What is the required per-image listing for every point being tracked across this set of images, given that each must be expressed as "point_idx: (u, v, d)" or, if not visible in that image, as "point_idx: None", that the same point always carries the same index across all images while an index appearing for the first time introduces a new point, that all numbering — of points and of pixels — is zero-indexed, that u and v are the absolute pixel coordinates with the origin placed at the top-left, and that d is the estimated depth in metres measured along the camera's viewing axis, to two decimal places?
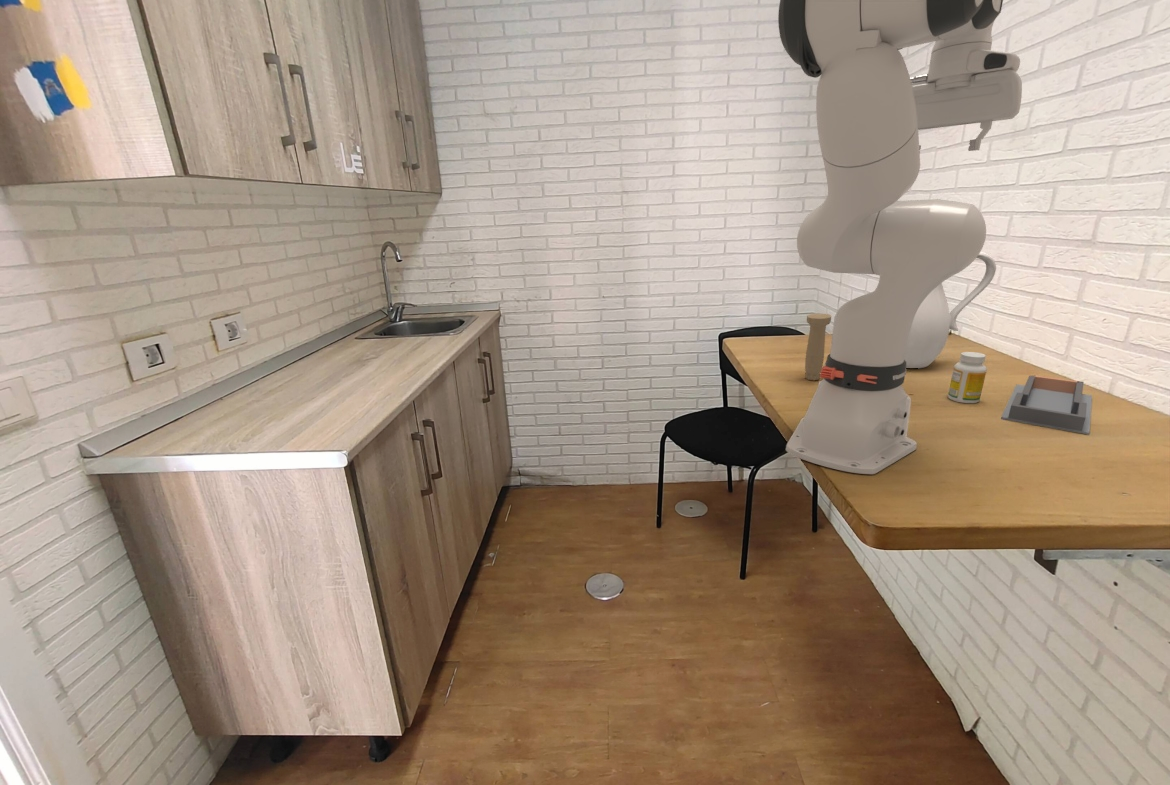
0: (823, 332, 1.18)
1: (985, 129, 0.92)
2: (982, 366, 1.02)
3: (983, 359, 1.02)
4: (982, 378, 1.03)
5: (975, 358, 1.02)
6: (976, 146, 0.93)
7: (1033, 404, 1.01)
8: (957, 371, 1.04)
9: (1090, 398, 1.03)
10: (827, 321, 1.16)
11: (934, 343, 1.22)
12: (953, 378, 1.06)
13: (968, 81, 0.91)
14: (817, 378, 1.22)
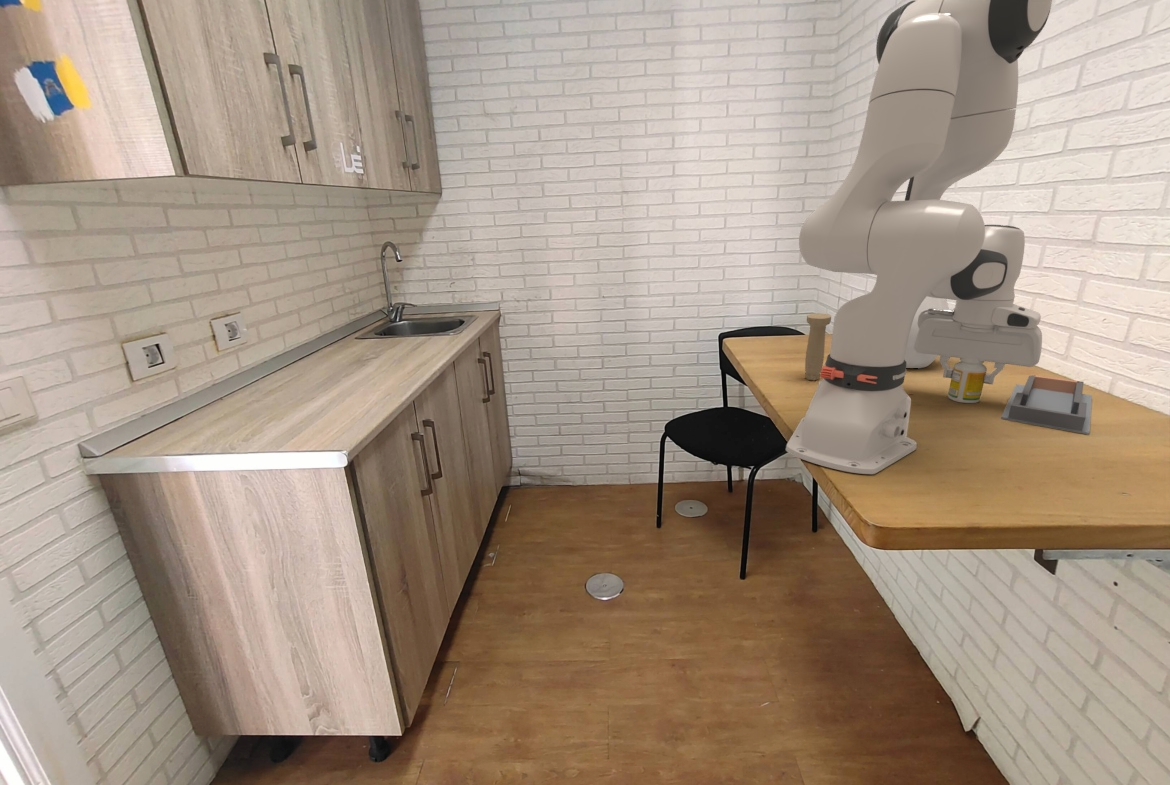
0: (823, 332, 1.18)
1: (999, 370, 1.00)
2: (982, 366, 1.02)
3: None
4: (982, 378, 1.03)
5: (975, 358, 1.02)
6: (990, 382, 1.02)
7: (1033, 404, 1.01)
8: (957, 371, 1.04)
9: (1090, 398, 1.03)
10: (827, 321, 1.16)
11: None
12: (953, 378, 1.05)
13: (992, 329, 0.99)
14: (817, 378, 1.22)
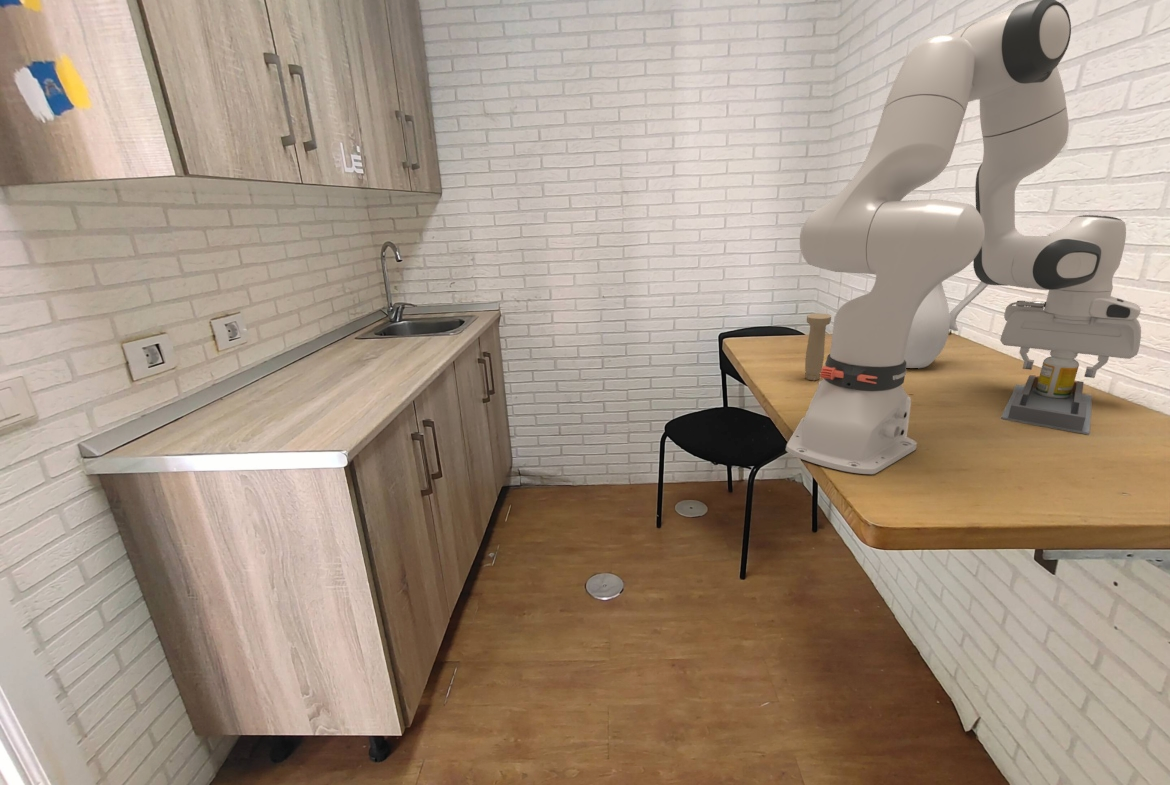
0: (823, 332, 1.18)
1: (1103, 363, 0.99)
2: (1075, 361, 1.02)
3: (1076, 354, 1.01)
4: (1075, 373, 1.02)
5: (1068, 353, 1.01)
6: (1093, 375, 1.00)
7: (1033, 404, 1.01)
8: (1048, 366, 1.04)
9: (1090, 398, 1.03)
10: (827, 321, 1.16)
11: (934, 343, 1.22)
12: (1043, 373, 1.05)
13: (1088, 320, 0.98)
14: (817, 378, 1.22)
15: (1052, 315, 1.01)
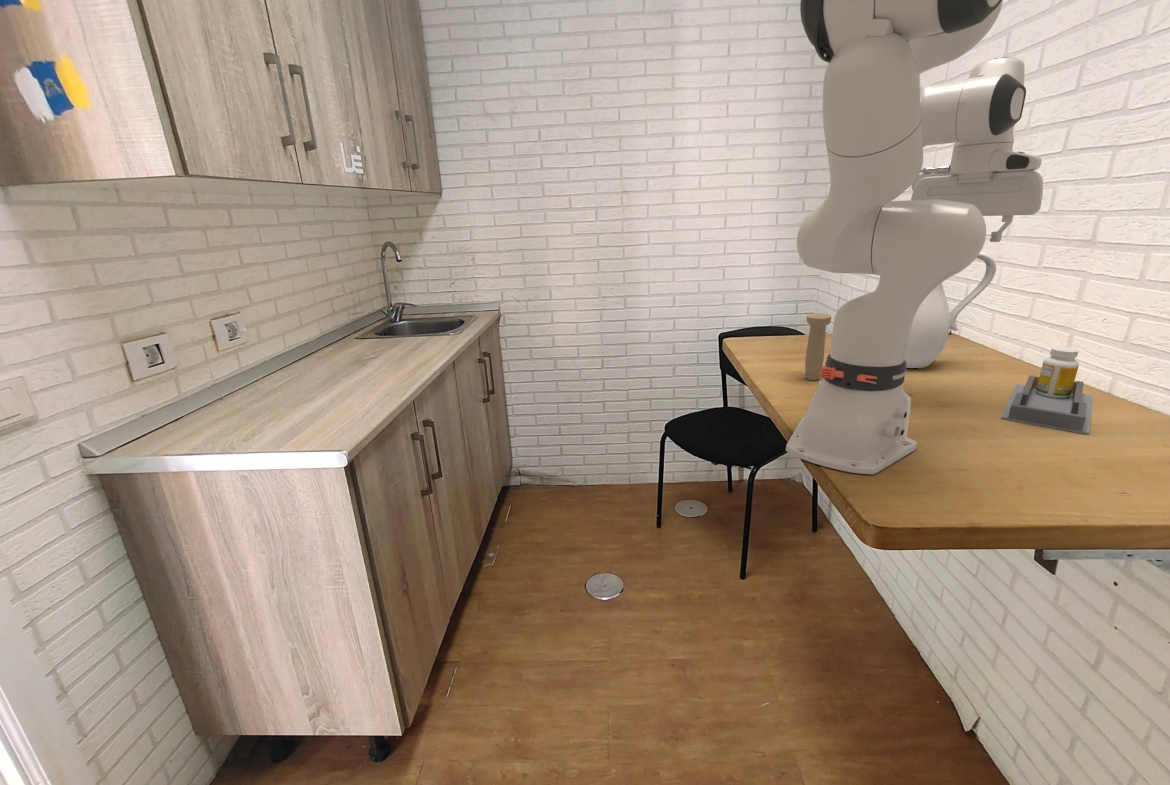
0: (823, 332, 1.18)
1: (1007, 223, 0.94)
2: (1075, 361, 1.02)
3: (1076, 354, 1.01)
4: (1075, 373, 1.02)
5: (1068, 353, 1.01)
6: (997, 238, 0.96)
7: (1033, 404, 1.01)
8: (1048, 366, 1.04)
9: (1090, 398, 1.03)
10: (827, 321, 1.16)
11: (934, 343, 1.22)
12: (1043, 373, 1.05)
13: (990, 177, 0.93)
14: (817, 378, 1.22)
15: (956, 177, 0.97)
